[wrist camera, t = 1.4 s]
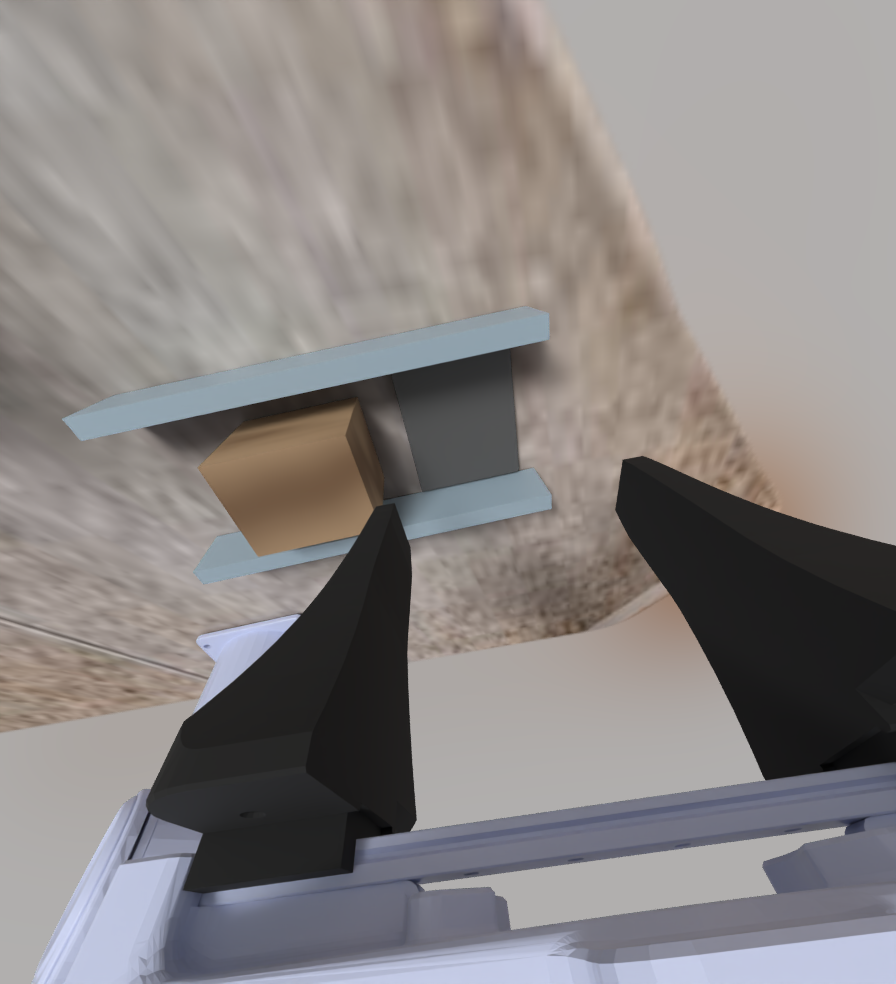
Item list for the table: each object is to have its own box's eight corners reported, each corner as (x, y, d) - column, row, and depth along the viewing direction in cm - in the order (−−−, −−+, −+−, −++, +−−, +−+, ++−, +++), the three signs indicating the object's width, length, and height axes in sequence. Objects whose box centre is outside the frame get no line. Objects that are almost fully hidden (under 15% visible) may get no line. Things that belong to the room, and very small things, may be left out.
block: (384, 476, 21) (381, 530, 17) (286, 498, 21) (258, 557, 17) (357, 396, 18) (345, 435, 14) (244, 420, 18) (197, 467, 14)
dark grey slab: (517, 468, 21) (518, 470, 21) (422, 489, 21) (422, 491, 21) (507, 337, 17) (509, 338, 17) (388, 363, 17) (388, 364, 17)
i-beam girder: (534, 481, 22) (551, 508, 19) (225, 548, 22) (203, 584, 19) (526, 305, 16) (549, 313, 14) (113, 395, 16) (62, 418, 14)
